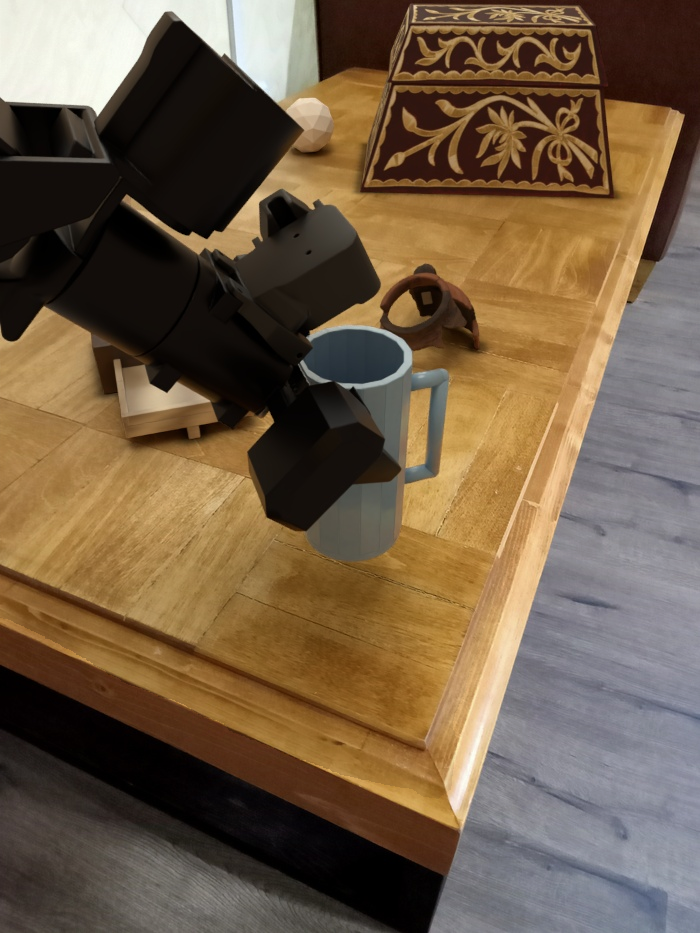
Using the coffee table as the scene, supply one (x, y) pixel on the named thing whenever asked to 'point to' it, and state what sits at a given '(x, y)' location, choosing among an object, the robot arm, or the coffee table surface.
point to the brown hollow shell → (430, 309)
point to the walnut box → (148, 396)
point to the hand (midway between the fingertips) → (374, 439)
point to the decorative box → (492, 104)
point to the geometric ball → (312, 124)
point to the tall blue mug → (388, 399)
